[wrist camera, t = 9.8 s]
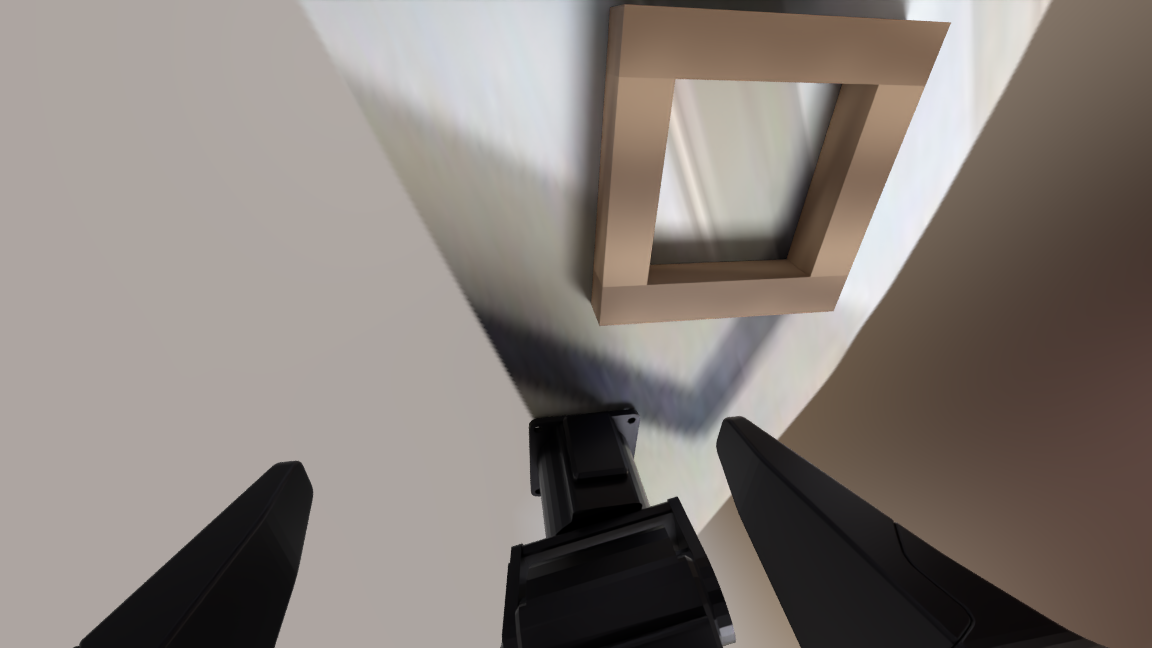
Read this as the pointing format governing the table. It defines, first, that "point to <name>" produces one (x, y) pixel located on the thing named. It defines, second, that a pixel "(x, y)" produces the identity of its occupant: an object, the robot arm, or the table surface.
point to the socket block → (840, 181)
